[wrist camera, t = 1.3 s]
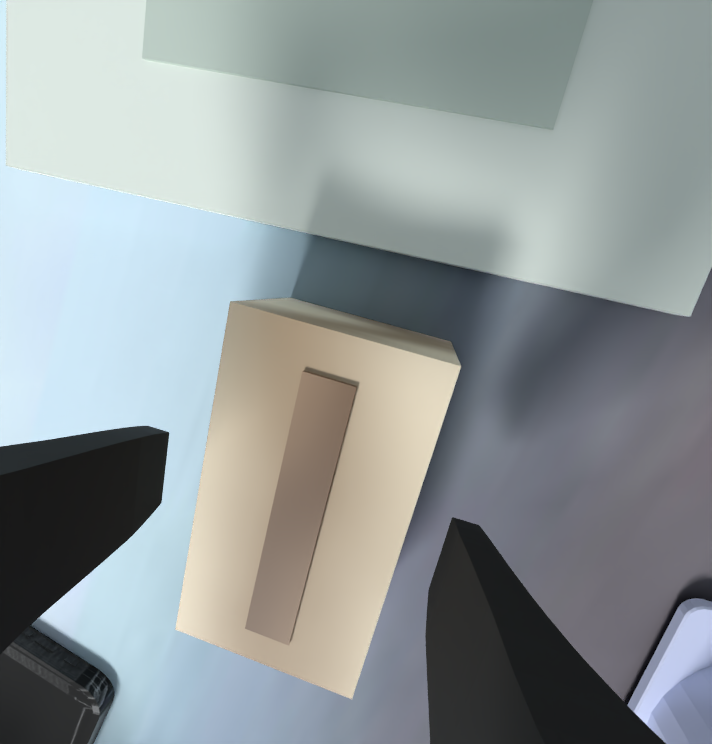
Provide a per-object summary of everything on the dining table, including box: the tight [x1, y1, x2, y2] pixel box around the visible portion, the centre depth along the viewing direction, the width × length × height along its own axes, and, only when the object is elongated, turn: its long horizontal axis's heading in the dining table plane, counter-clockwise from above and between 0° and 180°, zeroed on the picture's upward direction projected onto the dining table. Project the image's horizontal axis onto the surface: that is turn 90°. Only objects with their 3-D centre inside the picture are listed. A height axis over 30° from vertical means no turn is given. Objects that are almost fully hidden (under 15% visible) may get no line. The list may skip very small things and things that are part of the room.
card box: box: [176, 298, 461, 699], centre depth 11 cm, size 5×9×4 cm, turn 166°
